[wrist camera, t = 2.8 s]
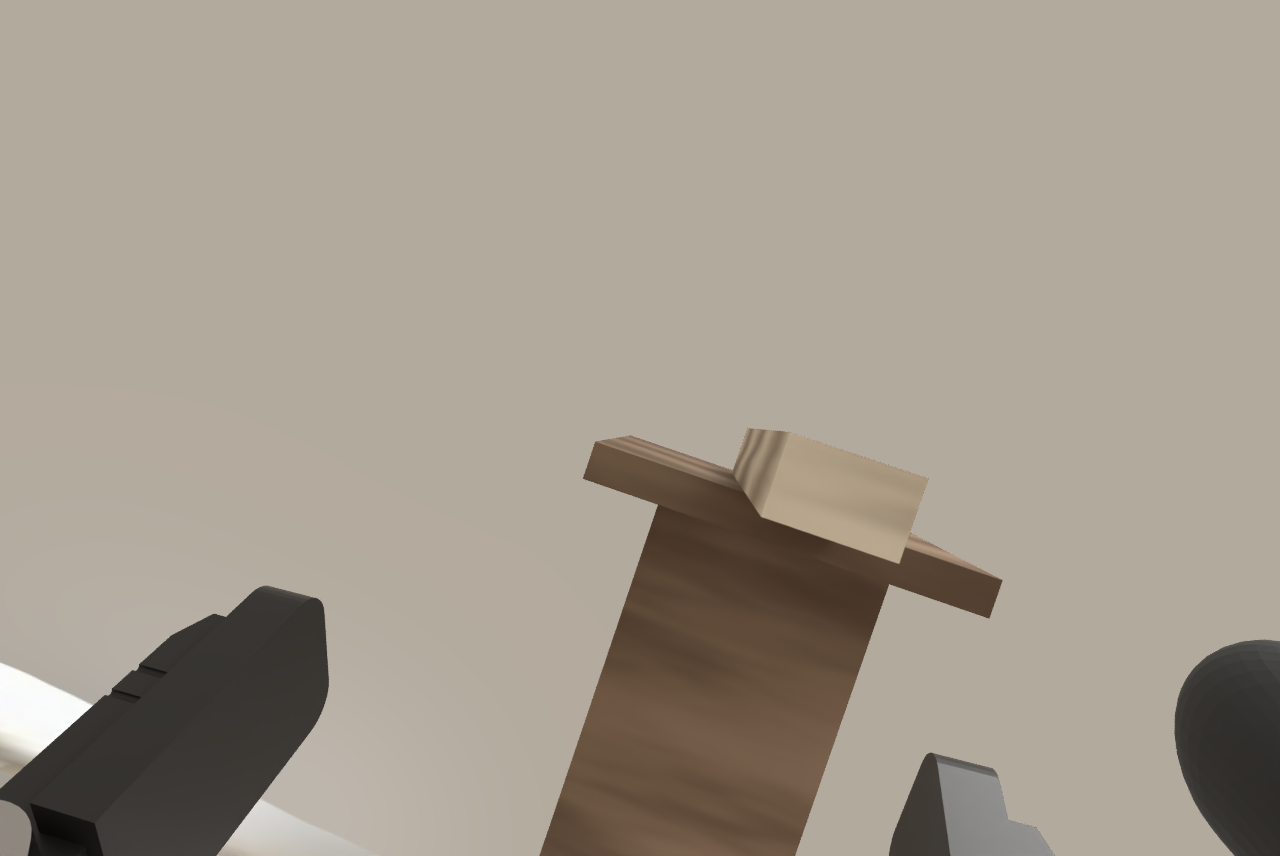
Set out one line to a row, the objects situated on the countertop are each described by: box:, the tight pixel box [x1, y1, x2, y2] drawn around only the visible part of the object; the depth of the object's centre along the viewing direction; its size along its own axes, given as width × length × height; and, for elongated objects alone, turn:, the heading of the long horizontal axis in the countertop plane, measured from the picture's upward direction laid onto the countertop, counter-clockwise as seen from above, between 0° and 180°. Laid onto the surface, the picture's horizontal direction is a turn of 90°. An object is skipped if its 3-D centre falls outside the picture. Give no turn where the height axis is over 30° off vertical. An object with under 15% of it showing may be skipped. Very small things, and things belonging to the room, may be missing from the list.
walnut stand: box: [540, 436, 1002, 856], centre depth 39 cm, size 16×16×32 cm
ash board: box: [732, 428, 928, 564], centre depth 33 cm, size 20×4×2 cm, turn 176°
